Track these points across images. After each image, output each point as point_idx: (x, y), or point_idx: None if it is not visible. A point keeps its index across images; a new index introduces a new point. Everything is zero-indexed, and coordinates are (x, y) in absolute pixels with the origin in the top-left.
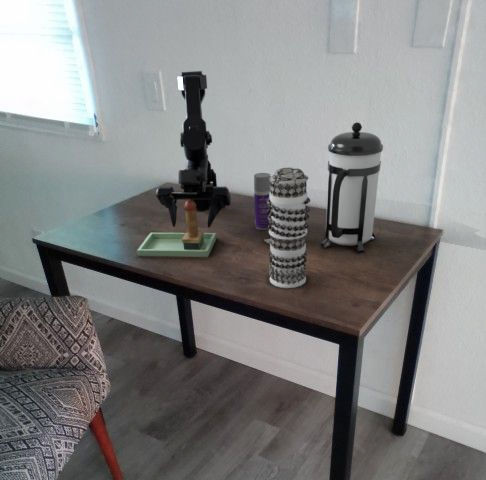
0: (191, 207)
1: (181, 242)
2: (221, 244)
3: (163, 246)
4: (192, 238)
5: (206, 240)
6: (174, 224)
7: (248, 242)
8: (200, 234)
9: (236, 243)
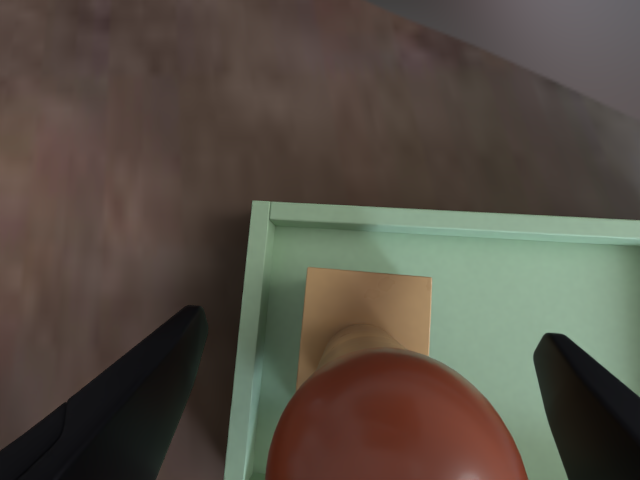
0: (339, 365)
1: None
2: (203, 409)
3: None
4: (353, 290)
5: None
6: (548, 355)
7: None
8: (304, 368)
9: None
